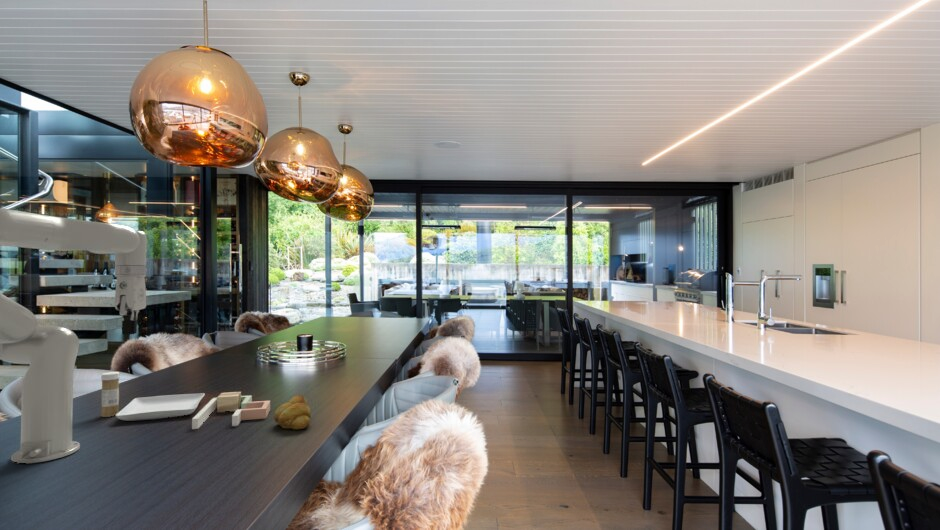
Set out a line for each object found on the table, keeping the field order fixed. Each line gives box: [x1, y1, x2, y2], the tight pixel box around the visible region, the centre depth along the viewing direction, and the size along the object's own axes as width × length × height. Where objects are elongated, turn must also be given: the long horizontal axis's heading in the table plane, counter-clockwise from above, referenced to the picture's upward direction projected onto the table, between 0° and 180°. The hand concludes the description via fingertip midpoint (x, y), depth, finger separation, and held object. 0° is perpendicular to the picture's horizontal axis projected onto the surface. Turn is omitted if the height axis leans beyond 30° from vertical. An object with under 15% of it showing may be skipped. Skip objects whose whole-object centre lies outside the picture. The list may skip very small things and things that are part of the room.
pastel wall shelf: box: [191, 395, 271, 430], centre depth 150 cm, size 24×19×3 cm
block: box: [216, 391, 242, 413], centre depth 156 cm, size 6×6×5 cm
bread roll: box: [273, 394, 311, 430], centre depth 139 cm, size 13×10×8 cm
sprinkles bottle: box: [100, 371, 120, 418], centre depth 149 cm, size 5×5×13 cm
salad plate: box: [114, 392, 206, 422], centre depth 153 cm, size 21×21×3 cm
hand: (129, 333), depth 139 cm, fingers closed
